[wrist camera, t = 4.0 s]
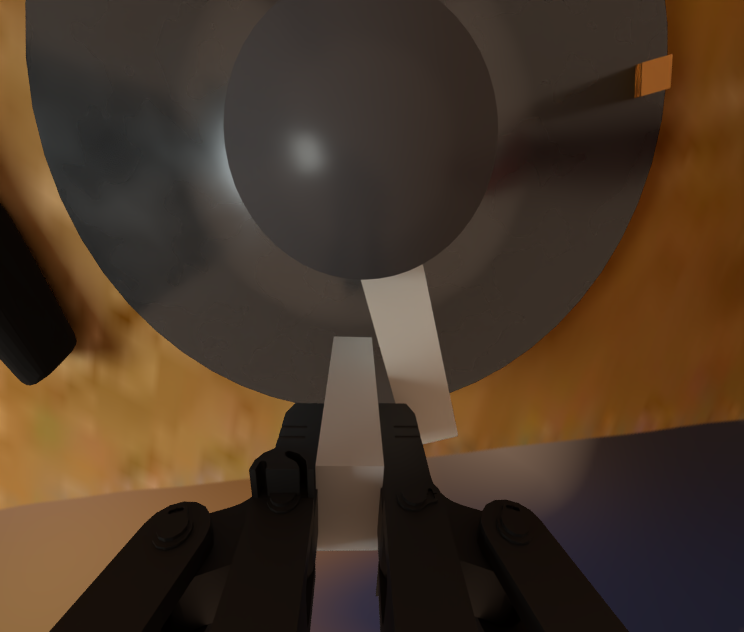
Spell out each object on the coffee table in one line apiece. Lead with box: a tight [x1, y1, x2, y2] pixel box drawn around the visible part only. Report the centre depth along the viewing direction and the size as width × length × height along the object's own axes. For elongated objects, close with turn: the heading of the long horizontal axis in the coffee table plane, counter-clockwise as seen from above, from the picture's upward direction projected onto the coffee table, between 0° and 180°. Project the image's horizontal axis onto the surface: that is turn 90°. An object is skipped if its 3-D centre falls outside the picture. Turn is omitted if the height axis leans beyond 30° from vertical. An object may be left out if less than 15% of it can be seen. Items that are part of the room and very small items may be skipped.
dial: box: [223, 0, 498, 444], centre depth 11 cm, size 12×6×5 cm, turn 14°
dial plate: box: [25, 0, 673, 403], centre depth 13 cm, size 22×22×2 cm
